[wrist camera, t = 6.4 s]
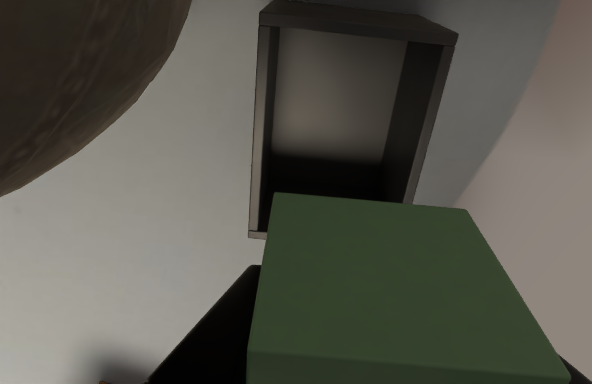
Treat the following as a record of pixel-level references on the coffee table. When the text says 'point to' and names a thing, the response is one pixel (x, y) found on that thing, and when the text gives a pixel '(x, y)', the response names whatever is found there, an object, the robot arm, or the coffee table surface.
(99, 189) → the coffee table surface
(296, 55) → the black open box
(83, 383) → the coffee table surface
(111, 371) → the coffee table surface
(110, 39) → the bowl
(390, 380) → the block
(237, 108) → the coffee table surface
